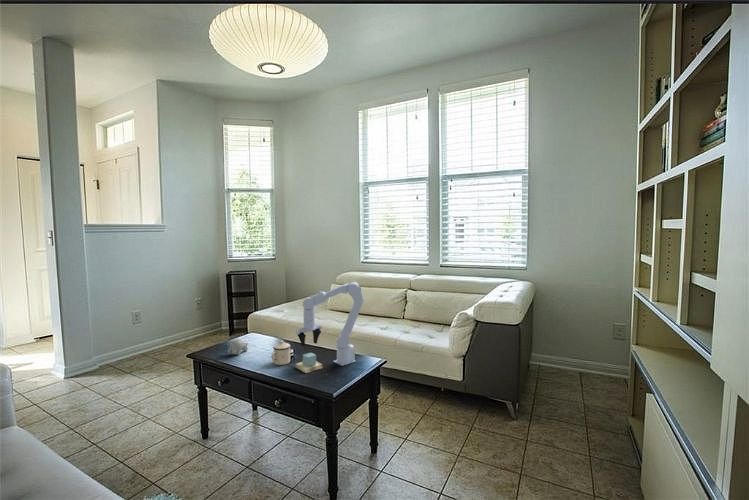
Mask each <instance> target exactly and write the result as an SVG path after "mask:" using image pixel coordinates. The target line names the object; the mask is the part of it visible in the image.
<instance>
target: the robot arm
mask: <svg viewBox="0 0 749 500" xmlns="http://www.w3.org/2000/svg"><path fill="white" fill-rule="evenodd" d="M339 294H344V295H347V294H348V295H349V296H350V297H351V298H352V299H353V304H352V307H351V309H350V310H349V313H348V315H347V316H348V317H347V319H346V321H345V324H344V325H343V326H344V327H342V330H341V331H340V333H339V334H338V336H337V341H336V360H335V359H334V360H333V362H334V363H335V364H337V365H340V366H346V365H349V364H352V363H356V360H355V359H356V358H355V357H356V356H355V355H356V350H355V346H354V345H353V344H352V343H350V338H351V337H350V336H351V333H352V330H353V328H354V326H355V323H356V321H357V318H358V316H359V314H360V310H361V308H362V306H363V303H364V295H363V291H362V287H361V285H360V284H359V283H358V282H357V281H351V282H348V283H344V284H342V285H339V286H337V287H335V288H333V289H331V290H329V291H326V292H325V291H318V293H316V294H314V295H312V294H311V295H309V296H308V297H306V298H304V300H303V301H302V307H303V327H301V328H299V329H296V332H295V334H296V335H297V337H298V338H299V341H300V345H301V347H303V348H304V347H305V345H306V334H305V333H309V332H312V336H313V339H312V340H313V343H314V344H318V339H319V338H320V334H321V333H322V331H321V330H322V325H321V324H318V325H315V307H317V306H319V305H322V304H324V303H326V302H328V300H329V298H332V297H335V296H337V295H339Z"/></svg>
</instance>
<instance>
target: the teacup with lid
mask: <svg viewBox="0 0 749 500" xmlns="http://www.w3.org/2000/svg"><path fill="white" fill-rule="evenodd" d="M284 341H285V340H280V341H279V342H278V343H276V344H274V346H273V347H272V348H273V352H272V353H271V360H272V361H273V363H274V364H275V365H277V366H283V365H287V364H290V362H291V348H292V347H291V344H290V343H287V342H284Z"/></svg>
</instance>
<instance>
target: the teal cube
mask: <svg viewBox="0 0 749 500" xmlns="http://www.w3.org/2000/svg"><path fill="white" fill-rule="evenodd" d="M316 361H317V354H315V353H313V352H307V353H304V354H302V362H303V365H305V366H307V367H309V366H313V365H316Z"/></svg>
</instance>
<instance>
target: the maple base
mask: <svg viewBox="0 0 749 500" xmlns="http://www.w3.org/2000/svg"><path fill="white" fill-rule="evenodd" d="M295 368H296V369H297V370H299V371H301V372H303V373H304V374H308V373H311V372H314V371H318V370H320V369H321V370H322V369H323V363H321V362H319V361H317V360H316V365H313V366H309V367H307V366H305V365H303V361H300V362H297V363H295Z"/></svg>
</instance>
